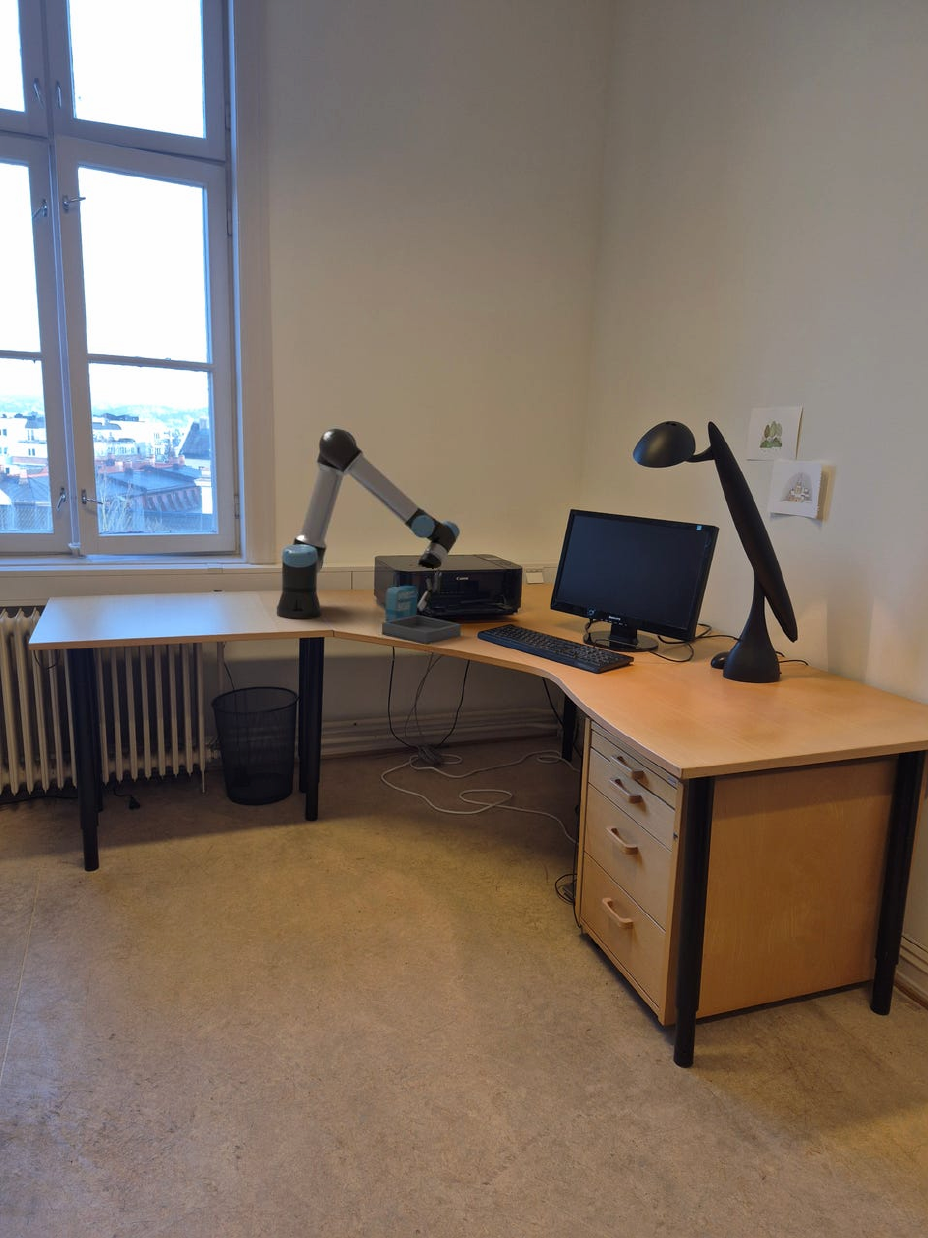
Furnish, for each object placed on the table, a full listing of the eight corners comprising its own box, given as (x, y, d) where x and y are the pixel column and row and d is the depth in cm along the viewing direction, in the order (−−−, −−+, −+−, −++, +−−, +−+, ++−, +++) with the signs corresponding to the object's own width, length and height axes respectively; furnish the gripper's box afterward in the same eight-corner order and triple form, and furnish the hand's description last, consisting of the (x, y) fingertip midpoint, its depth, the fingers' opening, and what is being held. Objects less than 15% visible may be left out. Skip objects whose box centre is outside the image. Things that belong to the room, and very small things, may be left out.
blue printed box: (395, 625, 255) (396, 590, 253) (384, 623, 258) (386, 588, 255) (416, 620, 265) (418, 586, 263) (406, 618, 268) (407, 584, 265)
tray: (381, 634, 242) (382, 622, 241) (417, 626, 256) (417, 615, 255) (426, 644, 232) (426, 632, 231) (460, 635, 246) (461, 624, 245)
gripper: (465, 570, 266) (437, 617, 257) (409, 561, 279) (381, 606, 271) (457, 556, 260) (428, 604, 251) (401, 547, 274) (371, 593, 265)
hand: (403, 605), depth 261 cm, fingers open, 13 cm apart
